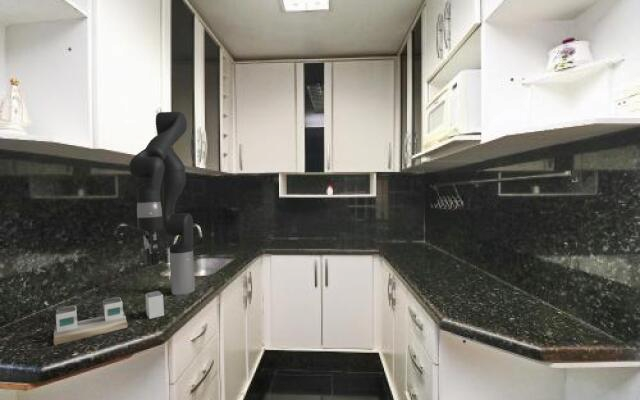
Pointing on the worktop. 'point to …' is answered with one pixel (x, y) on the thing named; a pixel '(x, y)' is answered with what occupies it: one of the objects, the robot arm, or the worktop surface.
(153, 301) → the block
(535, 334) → the worktop surface
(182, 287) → the robot arm
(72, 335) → the rail board
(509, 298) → the worktop surface
